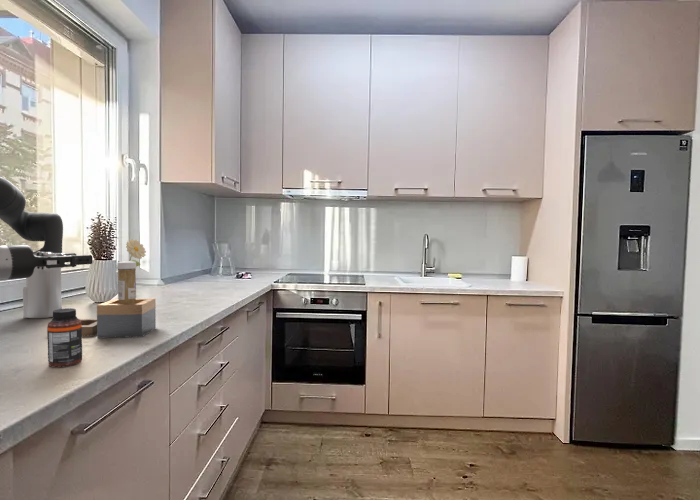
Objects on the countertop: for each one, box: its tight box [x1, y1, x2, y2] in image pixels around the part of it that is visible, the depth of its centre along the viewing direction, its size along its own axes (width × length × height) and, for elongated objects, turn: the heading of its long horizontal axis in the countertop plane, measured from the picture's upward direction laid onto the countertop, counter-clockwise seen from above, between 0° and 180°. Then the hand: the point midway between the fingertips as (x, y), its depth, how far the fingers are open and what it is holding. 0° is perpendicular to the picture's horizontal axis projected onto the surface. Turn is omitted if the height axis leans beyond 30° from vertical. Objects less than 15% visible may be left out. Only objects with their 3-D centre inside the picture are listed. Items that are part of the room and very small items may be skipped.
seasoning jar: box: [116, 260, 137, 304], centre depth 116 cm, size 5×5×14 cm
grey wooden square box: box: [96, 297, 157, 339], centre depth 117 cm, size 11×11×8 cm
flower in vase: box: [110, 238, 147, 300], centre depth 151 cm, size 13×11×25 cm
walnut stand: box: [46, 318, 97, 338], centre depth 117 cm, size 11×11×2 cm
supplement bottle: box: [46, 307, 83, 368], centre depth 89 cm, size 6×6×11 cm
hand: (83, 258), depth 107 cm, fingers open, 8 cm apart
